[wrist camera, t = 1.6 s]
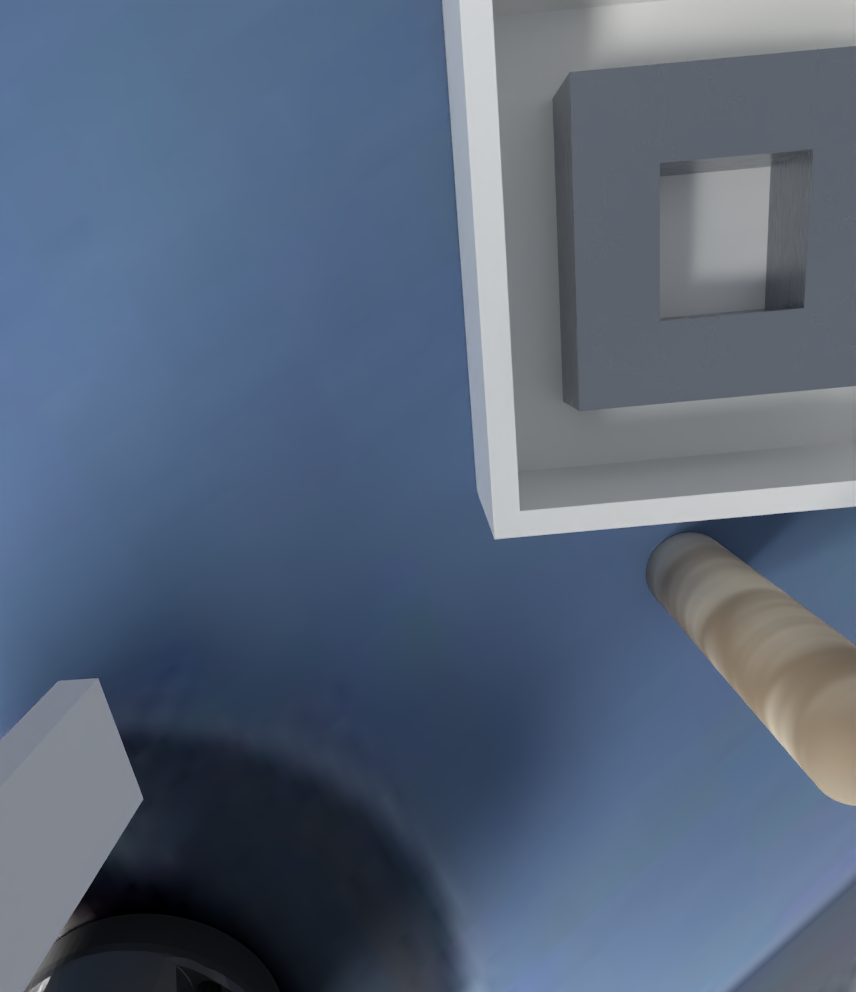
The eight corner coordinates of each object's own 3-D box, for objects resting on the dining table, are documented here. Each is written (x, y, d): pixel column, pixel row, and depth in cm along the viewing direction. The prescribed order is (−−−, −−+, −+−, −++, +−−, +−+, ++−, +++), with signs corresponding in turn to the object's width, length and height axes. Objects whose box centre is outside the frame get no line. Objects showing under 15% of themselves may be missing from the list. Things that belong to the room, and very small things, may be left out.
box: (899, 452, 32) (1031, 490, 25) (476, 491, 32) (494, 539, 25) (948, -45, 26) (1132, -167, 20) (442, 2, 26) (452, -105, 20)
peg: (725, 604, 34) (937, 800, 20) (646, 611, 34) (803, 812, 20) (728, 528, 32) (953, 681, 19) (645, 535, 33) (812, 693, 19)
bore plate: (833, 376, 30) (879, 383, 27) (563, 401, 30) (579, 411, 27) (855, 70, 27) (909, 40, 24) (552, 98, 27) (569, 72, 24)
